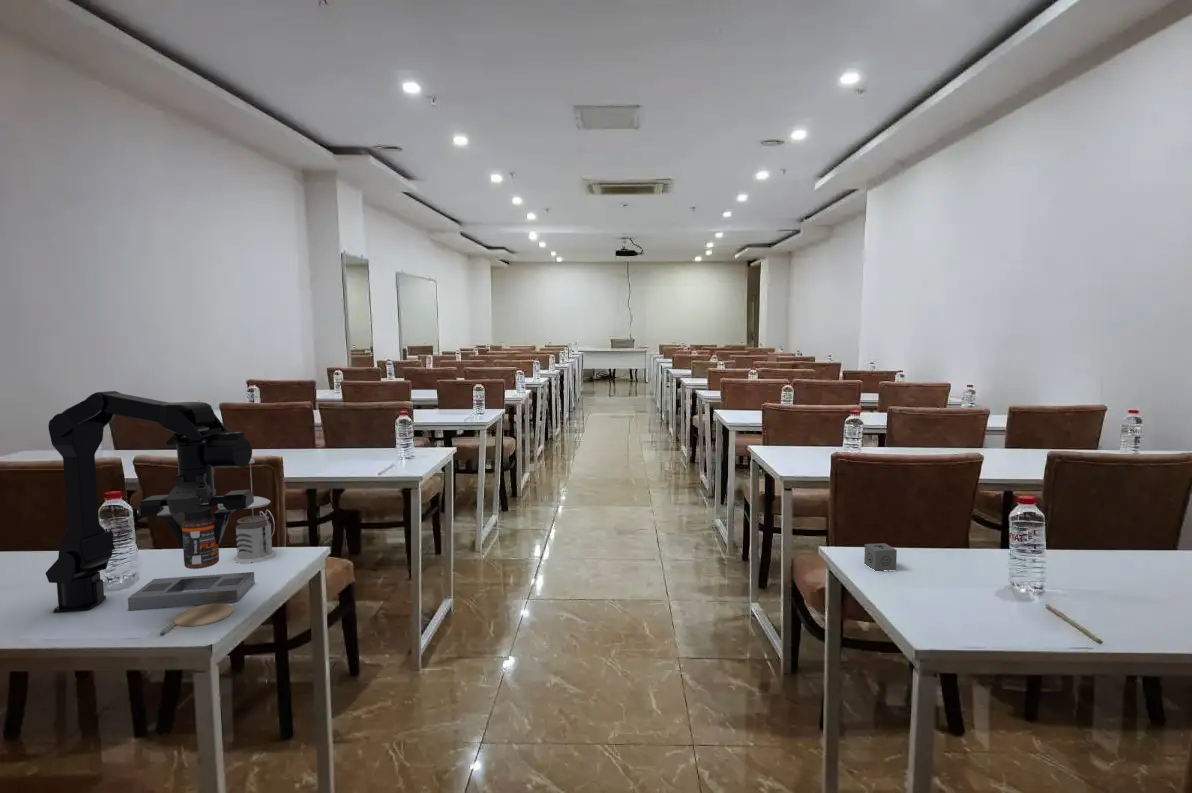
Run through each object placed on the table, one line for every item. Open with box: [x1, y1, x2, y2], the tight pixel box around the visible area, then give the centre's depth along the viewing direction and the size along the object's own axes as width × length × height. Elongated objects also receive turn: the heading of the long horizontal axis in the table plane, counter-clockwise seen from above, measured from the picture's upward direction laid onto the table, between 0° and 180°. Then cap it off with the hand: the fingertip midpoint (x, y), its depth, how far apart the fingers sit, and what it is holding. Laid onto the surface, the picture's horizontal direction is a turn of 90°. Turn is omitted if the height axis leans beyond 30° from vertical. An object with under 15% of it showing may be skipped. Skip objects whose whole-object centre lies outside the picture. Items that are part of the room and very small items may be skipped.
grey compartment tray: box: [127, 571, 256, 611], centre depth 136 cm, size 20×11×2 cm, turn 101°
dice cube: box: [863, 542, 898, 572], centre depth 150 cm, size 5×5×5 cm
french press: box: [233, 457, 277, 564], centre depth 160 cm, size 10×12×25 cm
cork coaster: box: [173, 603, 235, 627], centre depth 126 cm, size 10×10×1 cm
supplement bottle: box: [182, 506, 220, 570], centre depth 127 cm, size 6×6×11 cm
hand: (200, 545), depth 127 cm, fingers closed on supplement bottle, 6 cm apart
